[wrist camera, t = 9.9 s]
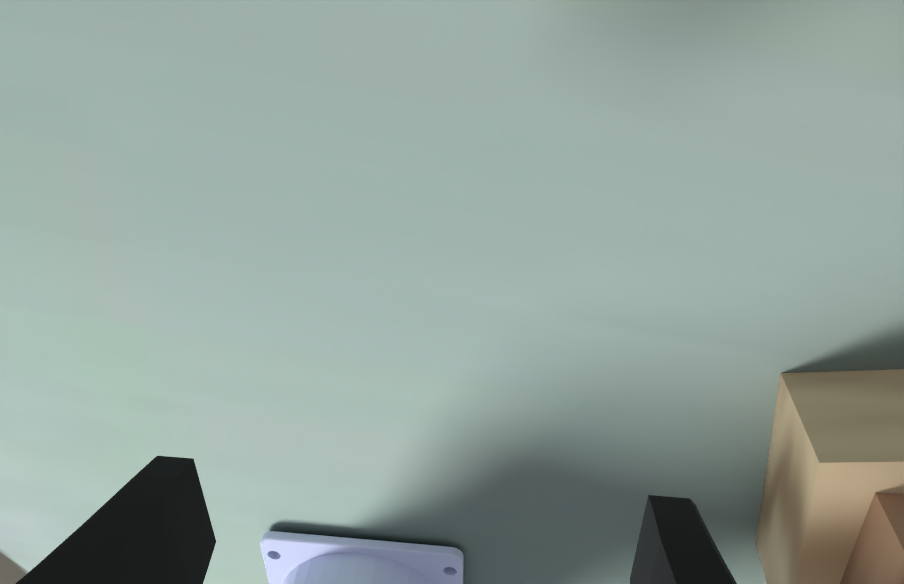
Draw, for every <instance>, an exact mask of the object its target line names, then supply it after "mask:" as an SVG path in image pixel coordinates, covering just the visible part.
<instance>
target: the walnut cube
mask: <svg viewBox="0 0 904 584" xmlns="http://www.w3.org/2000/svg"><path fill="white" fill-rule="evenodd" d="M840 584H904V494H894V493H875V494H874V497H873V499H872V502H871V504H870V507H869V510H868V512H867V515H866V517H865V520H864V523H863V525H862V528H861V530H860V533H859V536H858V538H857V541H856V543H855V546H854V549H853V551H852V554H851V556H850V559H849V562H848V564H847V567H846V569H845V572H844V574H843V577H842V580H841V582H840Z"/></svg>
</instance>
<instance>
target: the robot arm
mask: <svg viewBox="0 0 904 584" xmlns="http://www.w3.org/2000/svg"><path fill="white" fill-rule="evenodd" d="M215 543H216V540H215V536H214V532H213V529H212V525H211V521H210V518H209V514H208V510H207V507H206V503H205V499H204V496H203V492H202V488H201V485H200V481H199V477H198V474H197V470H196V467H195V463H194V459H190V458H177V457H165V456H157V457H155V458H154V459H153V460H152V461H151V462H150V463H149V464H148V465H146V466H145V467H144V468H143V469H142V470H141V471H140V472H139V473H138V474H137V475H135V476H134V477H133V478H132V479H131V480H130V481H129V482H128V483H127V484H126V485H125V486H124V487H123V488H121V489H120V490H119V491H118V492H117V493H116V494H115V495H114V496H113V497H112V498H111V499H110V500H109V501H108V502H106V503H105V504H104V505H103V506H102V507H101V508H100V509H99V510H98V511H97V512H96V513H95V514H93V515H92V516H91V517H90V518H89V519H88V520H87V521H86V522H85V523H84V524H83V525H82V526H80V527H79V528H78V529H77V530H76V531H75V532H74V533H73V534H72V535H70V536H69V537H68V538H67V539H66V540H65V541H64V542H63V543H61V544H60V545H59V546H58V547H57V548H56V549H55V550H54V551H53V552H51V553H50V554H49V555H48V556H47V557H46V558H45V559H44V560H42V561H41V562H40V563H39V564H38V565H37V566H36V567H35V568H33V569H32V570H31V571H30V572H29V573H28V574H26V576H24V577H23V578H22V579H21V580H19V581H18V582H17V583H16V584H203V581H204V578H205V575H206V572H207V569H208V566H209V563H210V559H211V556H212V553H213V550H214V546H215ZM260 546H261V550H262V555H263V559H264V564H265V568H266V573H267V577H268V582H269V584H463V565H464V556H463V553H462V552H461V551H460V550H459V549H457V548H454V547H447V546H436V545H424V544H413V543H402V542H390V541H379V540H368V539H356V538H345V537H334V536H322V535H311V534H300V533H288V532H277V531H269V532H267V533H265V534H264V535H263V537H262V539H261V543H260ZM630 584H737V583H736V582H735V580H734V578H733V576H732V574H731V573H730V571H729V569H728V567H727V565H726V564H725V562H724V560H723V558H722V556H721V554H720V553H719V551H718V549H717V547H716V545H715V543H714V541H713V539H712V537H711V535H710V534H709V532H708V530H707V528H706V526H705V524H704V522H703V520H702V518H701V516H700V513H699V511H698V509H697V507H696V505H695V504H694V503H693V502H692V501H691V500H690V499H688V498H676V497H663V496H651V495H648V500H647V504H646V509H645V513H644V518H643V523H642V527H641V532H640V536H639V541H638V545H637V550H636V554H635V559H634V563H633V568H632V572H631V577H630Z"/></svg>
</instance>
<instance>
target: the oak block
mask: <svg viewBox="0 0 904 584" xmlns="http://www.w3.org/2000/svg"><path fill="white" fill-rule="evenodd" d="M875 493H894V494H904V369H891V370H860V371H828V372H797V373H781V374H780V381H779V388H778V394H777V401H776V408H775V415H774V421H773V428H772V435H771V442H770V448H769V455H768V462H767V469H766V475H765V482H764V489H763V496H762V503H761V509H760V516H759V523H758V530H757V536H756V543H755V544H756V547H757V551H758V554H759V558H760V561H761V564H762V568H763V571H764V575H765V578H766V581H767V584H840V582H841V580H842V577H843V574H844V572H845V569H846V567H847V564H848V562H849V559H850V556H851V554H852V551H853V549H854V546H855V543H856V541H857V538H858V536H859V533H860V530H861V528H862V525H863V523H864V520H865V517H866V515H867V512H868V510H869V507H870V504H871V502H872V499H873V497H874V494H875Z"/></svg>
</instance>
